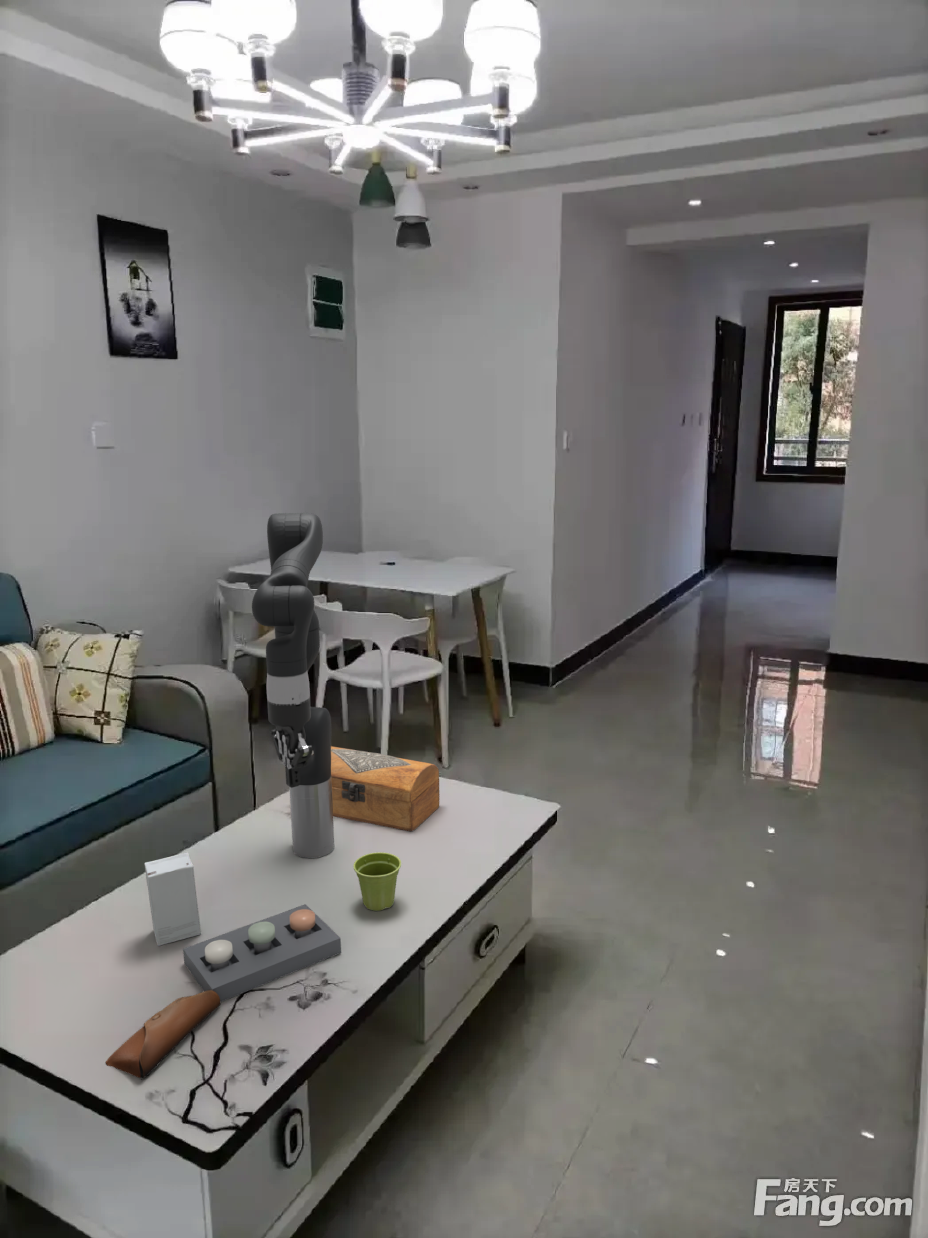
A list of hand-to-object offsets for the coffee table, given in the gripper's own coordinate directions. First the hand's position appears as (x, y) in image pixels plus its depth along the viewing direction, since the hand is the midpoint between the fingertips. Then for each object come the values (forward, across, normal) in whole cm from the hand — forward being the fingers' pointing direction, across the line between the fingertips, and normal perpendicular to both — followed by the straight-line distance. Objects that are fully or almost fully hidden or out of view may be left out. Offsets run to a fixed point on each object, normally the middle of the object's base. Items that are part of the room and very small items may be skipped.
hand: (293, 785), depth 162 cm
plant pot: (+29, +2, +16) cm, 33 cm away
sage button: (+28, +5, -10) cm, 30 cm away
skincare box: (+29, -12, -20) cm, 37 cm away
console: (+29, +5, -10) cm, 31 cm away
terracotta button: (+28, +5, -2) cm, 29 cm away
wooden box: (+30, -35, +36) cm, 59 cm away
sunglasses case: (+30, +14, -31) cm, 45 cm away
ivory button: (+28, +5, -18) cm, 34 cm away
